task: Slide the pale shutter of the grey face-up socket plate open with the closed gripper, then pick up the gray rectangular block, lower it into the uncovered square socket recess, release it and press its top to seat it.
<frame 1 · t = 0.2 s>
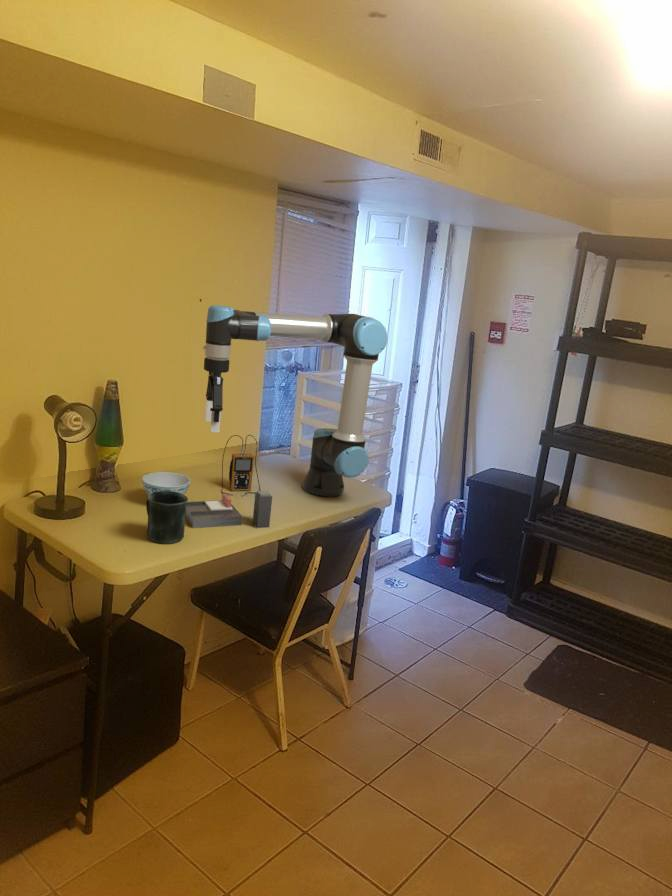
hand: (212, 426, 214), 27 cm above the table, tool pointing down, fingers open, 13 cm apart
mug: (161, 536, 197), on the table
multimeter: (242, 494, 240), on the table
socket plate: (210, 518, 214), on the table
gray rectangular block: (260, 525, 214), on the table
chinaware: (164, 502, 223), on the table
shutter: (218, 502, 215), point 5 cm above the table, slide at 0.0 cm
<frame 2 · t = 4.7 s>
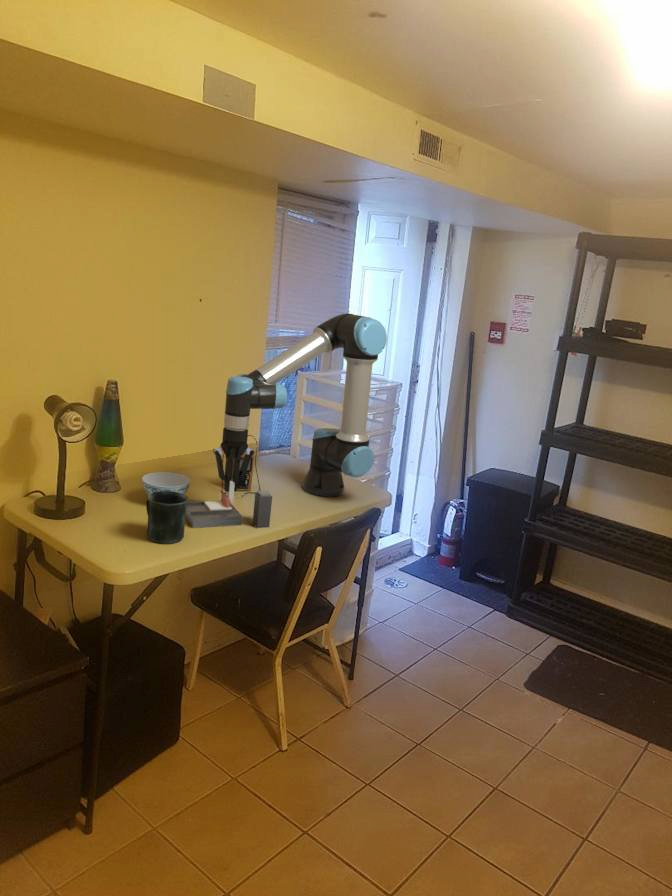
hand: (229, 500, 217), 5 cm above the table, tool pointing down, fingers closed
shutter: (218, 502, 215), point 5 cm above the table, slide at 0.3 cm, touching gripper
everything else where it was.
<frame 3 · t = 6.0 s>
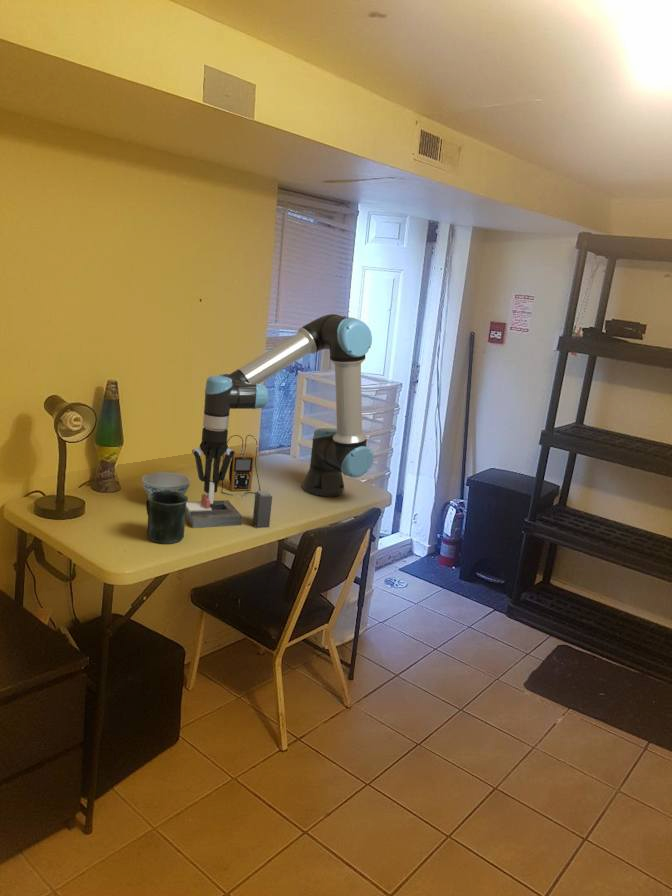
hand: (209, 502, 214), 5 cm above the table, tool pointing down, fingers closed
shutter: (197, 503, 212), point 5 cm above the table, slide at 6.6 cm, touching gripper
everything else where it was.
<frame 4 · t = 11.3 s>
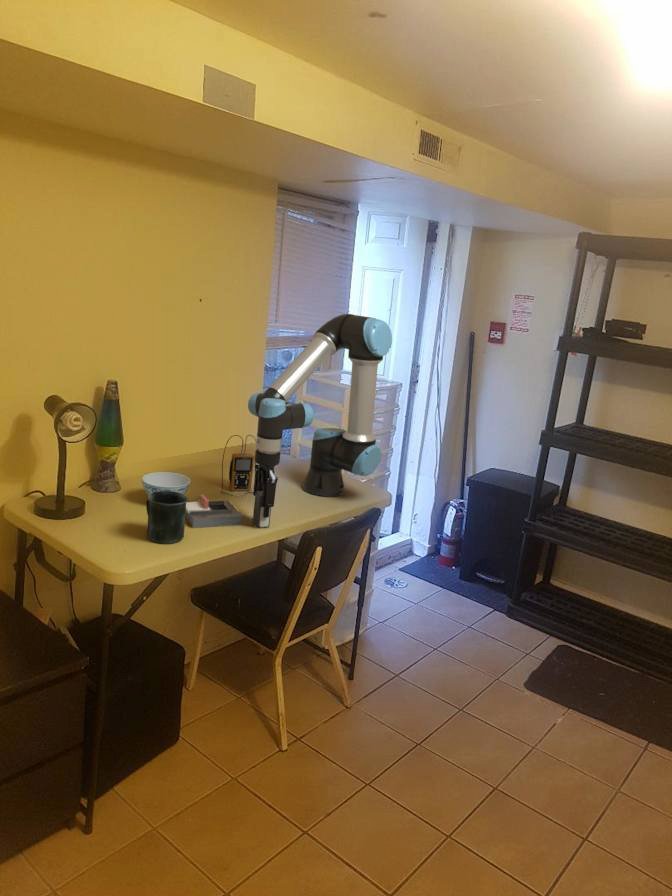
hand: (261, 523, 214), 1 cm above the table, tool pointing down, fingers closed on gray rectangular block, 4 cm apart
gray rectangular block: (260, 525, 214), on the table, touching gripper
shutter: (196, 503, 212), point 5 cm above the table, slide at 7.1 cm
everything else where it was.
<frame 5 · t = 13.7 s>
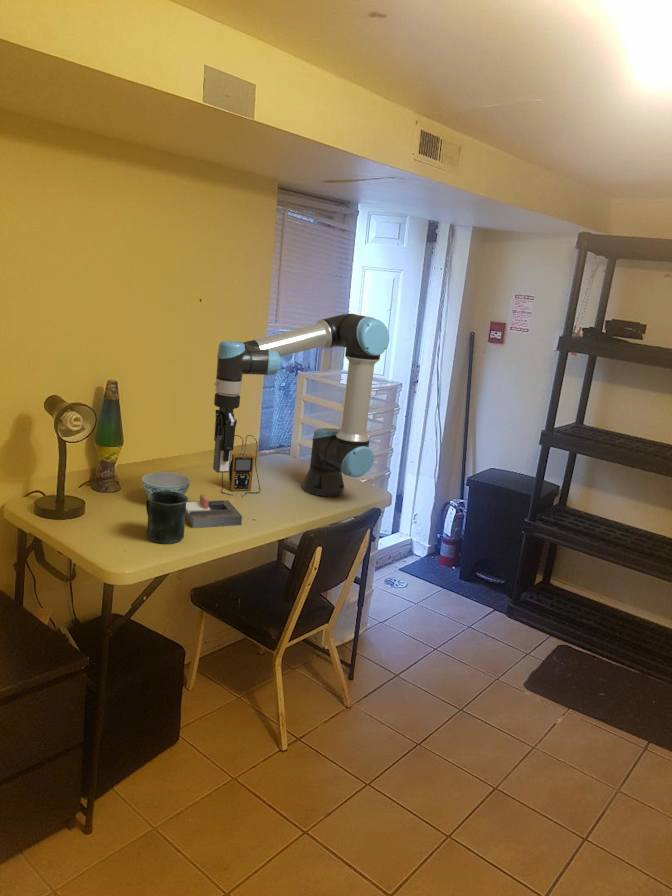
hand: (221, 468, 212), 16 cm above the table, tool pointing down, fingers closed on gray rectangular block, 4 cm apart
gray rectangular block: (221, 470, 213), point 15 cm above the table, touching gripper
everything else where it was.
when the fingers open (5 cm above the table, at t = 16.3 s): gray rectangular block drops 4 cm, resting in socket plate.
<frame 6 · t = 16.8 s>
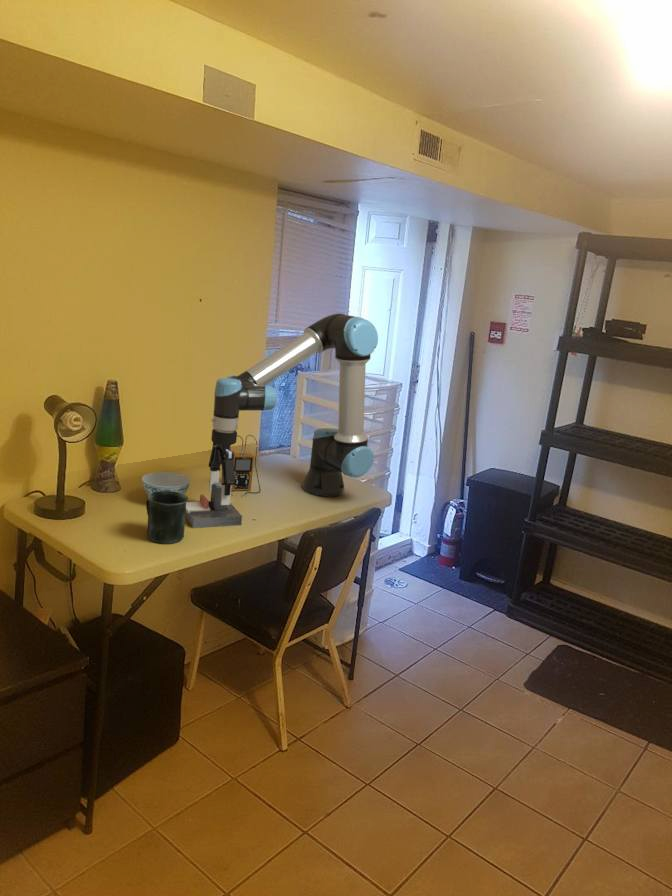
hand: (219, 497, 215), 6 cm above the table, tool pointing down, fingers open, 11 cm apart
gray rectangular block: (217, 516, 216), resting in socket plate
everything else where it was.
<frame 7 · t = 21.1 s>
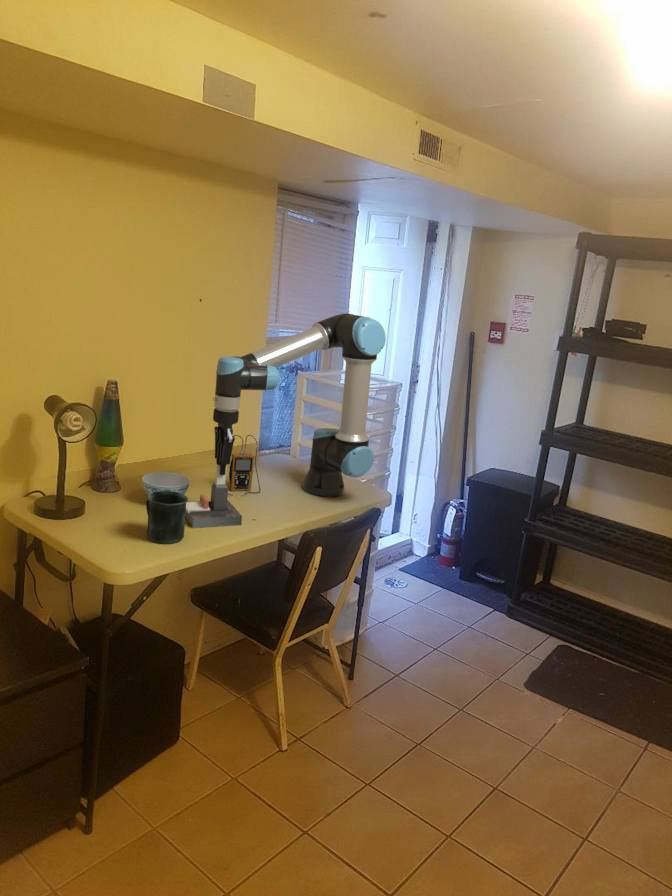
hand: (220, 483, 214), 11 cm above the table, tool pointing down, fingers closed
gray rectangular block: (217, 516, 216), resting in socket plate, touching gripper
everything else where it was.
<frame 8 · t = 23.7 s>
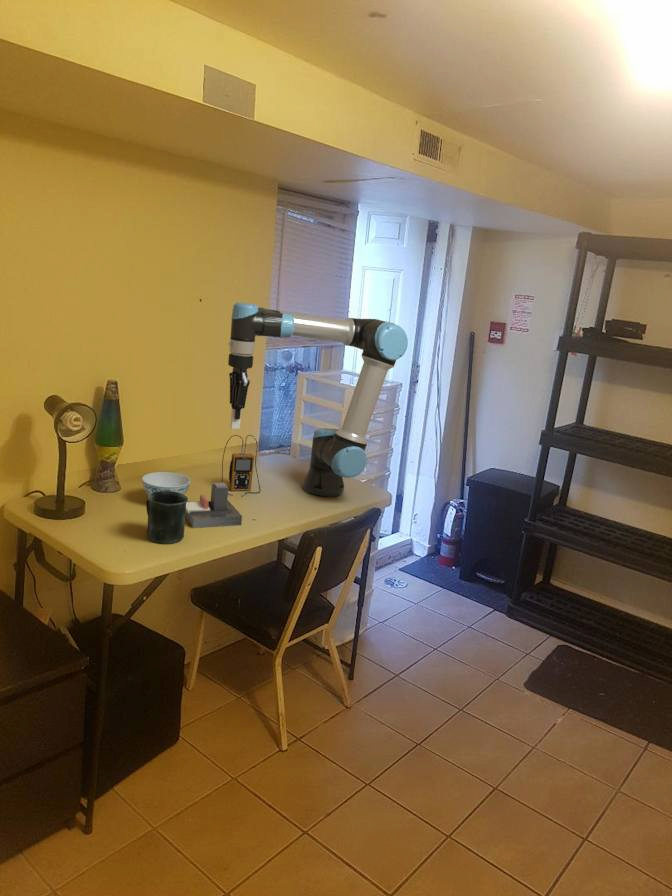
hand: (235, 428, 219), 26 cm above the table, tool pointing down, fingers closed
gray rectangular block: (217, 516, 216), resting in socket plate
everything else where it was.
at the end: gray rectangular block 0.1 cm from the target spot, resting in socket plate; gray rectangular block tilted 0°; shutter slide at 7.1 cm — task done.
